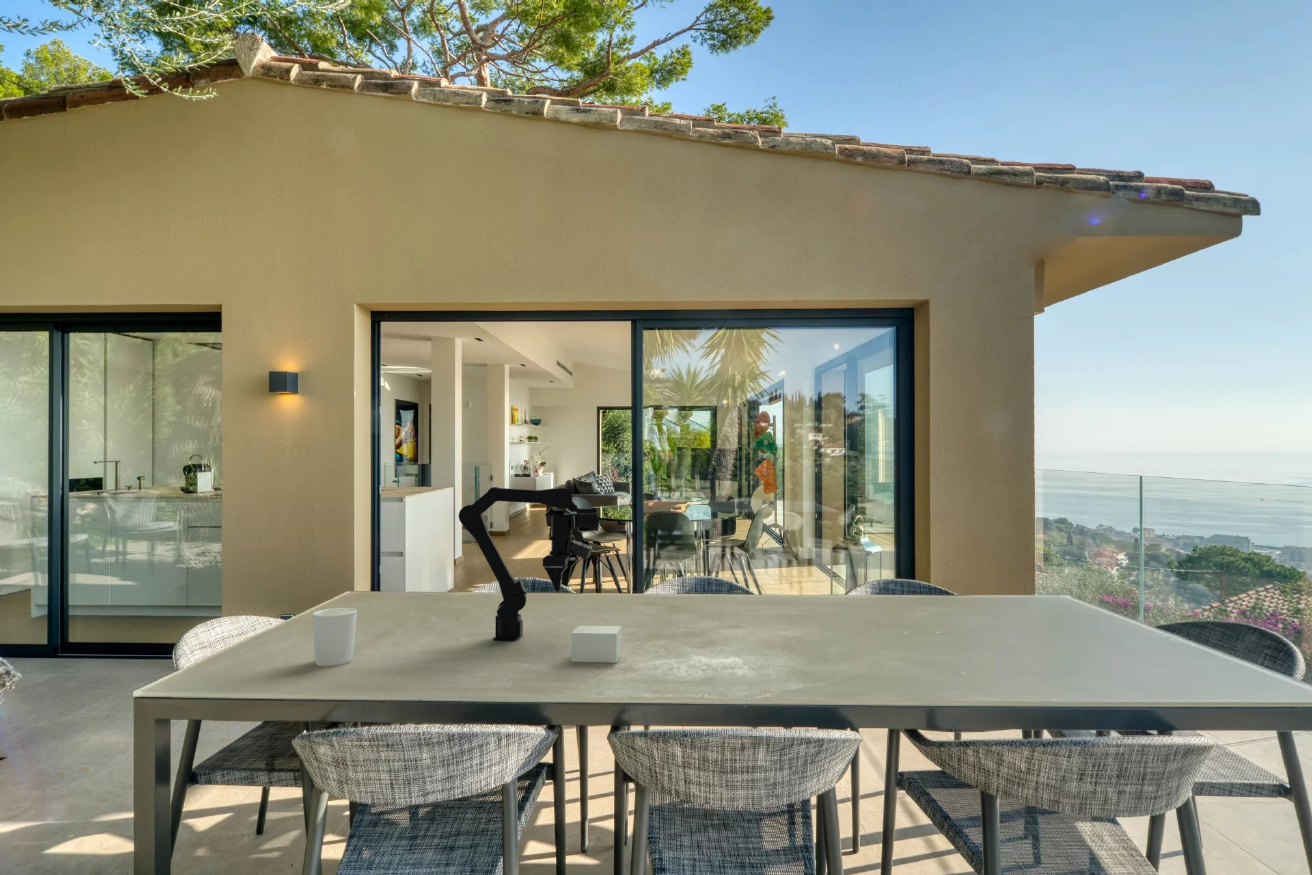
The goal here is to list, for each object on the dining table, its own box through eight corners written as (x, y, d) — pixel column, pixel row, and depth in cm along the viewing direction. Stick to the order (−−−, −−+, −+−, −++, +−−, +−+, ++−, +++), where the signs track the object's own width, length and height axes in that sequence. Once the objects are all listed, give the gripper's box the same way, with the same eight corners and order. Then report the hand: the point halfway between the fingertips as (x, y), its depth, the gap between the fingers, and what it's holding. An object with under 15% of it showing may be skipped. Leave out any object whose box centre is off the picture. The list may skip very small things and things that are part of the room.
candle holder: (301, 665, 153) (302, 614, 154) (333, 654, 163) (334, 606, 163) (335, 669, 151) (336, 617, 151) (365, 657, 160) (366, 608, 161)
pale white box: (571, 661, 155) (571, 632, 156) (578, 652, 163) (578, 625, 163) (616, 662, 154) (616, 633, 155) (621, 653, 162) (621, 626, 162)
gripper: (583, 535, 172) (583, 594, 171) (596, 529, 191) (596, 582, 190) (542, 535, 173) (541, 594, 172) (559, 529, 192) (559, 582, 191)
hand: (561, 588), depth 181 cm, fingers open, 9 cm apart
